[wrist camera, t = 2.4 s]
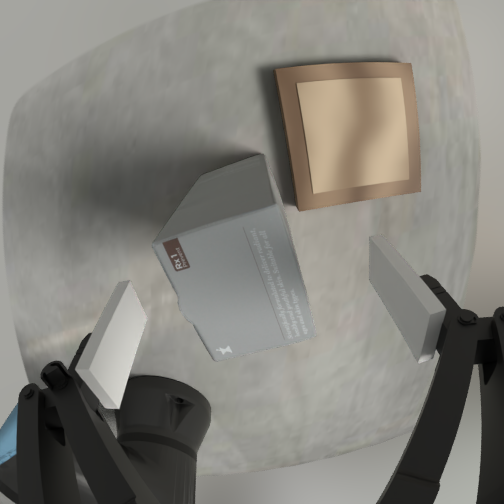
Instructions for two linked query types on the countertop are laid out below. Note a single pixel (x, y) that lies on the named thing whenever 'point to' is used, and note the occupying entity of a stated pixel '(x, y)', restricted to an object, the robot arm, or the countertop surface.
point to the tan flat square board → (350, 131)
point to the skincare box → (236, 262)
